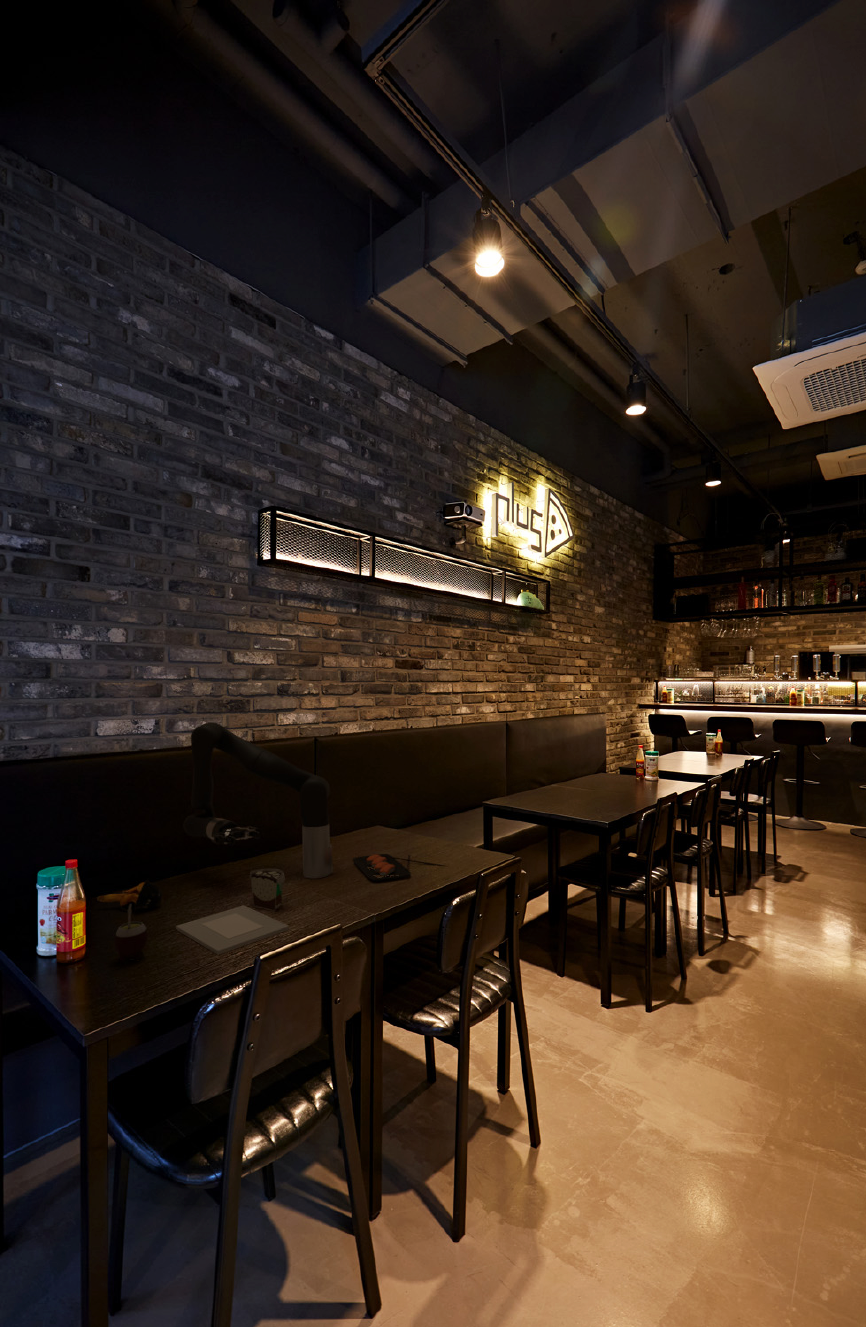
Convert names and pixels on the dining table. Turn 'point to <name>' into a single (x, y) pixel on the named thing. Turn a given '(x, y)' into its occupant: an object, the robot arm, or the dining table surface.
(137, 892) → the fried shrimp in bowl
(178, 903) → the dining table surface
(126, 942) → the mate gourd
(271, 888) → the food container
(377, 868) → the sushi plate
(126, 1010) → the dining table surface
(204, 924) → the dock
